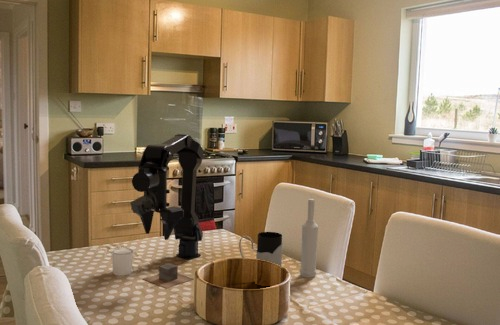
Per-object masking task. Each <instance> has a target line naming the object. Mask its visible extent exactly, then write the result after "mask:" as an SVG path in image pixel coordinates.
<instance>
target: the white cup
mask: <svg viewBox="0 0 500 325" xmlns="http://www.w3.org/2000/svg"><path fill="white" fill-rule="evenodd" d="M110 253H111V255H110V256H111V264H112V265H111V266H112V273H113V275H115V276H120V277H121V276H127V275H128V276H129V275H130V274H131V273H132V269H133V260H134V250H133V249H131V248H116V249H114V250H111V252H110Z"/></svg>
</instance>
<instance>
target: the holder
mask: <svg viewBox="0 0 500 325" xmlns="http://www.w3.org/2000/svg"><path fill="white" fill-rule="evenodd" d="M243 238H248V239H249V241H250V242H251V249H252V251H253V252H256V256H255V257H256V258H255V260H256V259H260V260H265V261H269V262H272V263H275V264H278V265H280V266H281V267H282V261H283V259H282V258H283V234H282V233H280V232H276V231H261V232H258V234H257V248H256V249H254V240H253V239H252V238H251V237H250V236H248V235H243V236H242V237H241V238H239V242H238V248H239V249H238V250H239V252H240V255H241V258H242V259H243V258H245V256H244V253H243V252H242V246H241V243H242V240H243Z"/></svg>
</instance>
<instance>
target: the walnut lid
mask: <svg viewBox="0 0 500 325" xmlns="http://www.w3.org/2000/svg"><path fill="white" fill-rule="evenodd" d="M178 268H179V267H178V265H175V264H172V263H166V264H161V265H159V266H158V274H154V275H151V276H148V277H144V278H142V280H143V281H145V282H148V283H151V284H153V285H156V286H158V287H161V288H164V289H169V288H172V287H175V286H178V285H182V284H185V283H188V282H190V281H193V280H194V278H192V277H190V276H186V275H184V274H181V273H178V270H179V269H178Z"/></svg>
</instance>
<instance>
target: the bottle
mask: <svg viewBox="0 0 500 325" xmlns="http://www.w3.org/2000/svg"><path fill="white" fill-rule="evenodd" d="M307 200H308V201H307V219H306V221H305V222H304V223H302V225H301V226H302V227H301V254H300V255H301V258H300V260H301V262H300V270H299V275H300V276H301V277H303V278H307V279H312V278H313V279H314V278H315V277H316V275H317V269H316V268H317V251H318V239H319V238H318V236H319V225H318V224H317V223H316V221H315V202H316V200H315V199H313V198H308V199H307Z"/></svg>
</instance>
